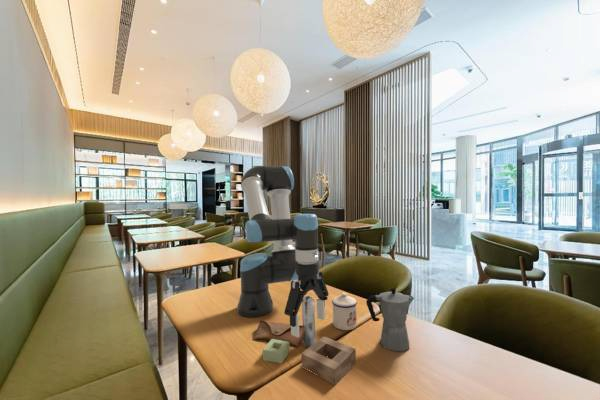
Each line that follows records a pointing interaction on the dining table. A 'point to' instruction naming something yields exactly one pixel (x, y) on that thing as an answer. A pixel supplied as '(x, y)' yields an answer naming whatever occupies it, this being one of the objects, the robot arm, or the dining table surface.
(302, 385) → the dining table surface
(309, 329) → the silver metal cylinder
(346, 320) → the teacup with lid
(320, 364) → the brown square holed block
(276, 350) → the pale green holed block
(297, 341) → the sunglasses case
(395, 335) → the coffeepot
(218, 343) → the dining table surface
